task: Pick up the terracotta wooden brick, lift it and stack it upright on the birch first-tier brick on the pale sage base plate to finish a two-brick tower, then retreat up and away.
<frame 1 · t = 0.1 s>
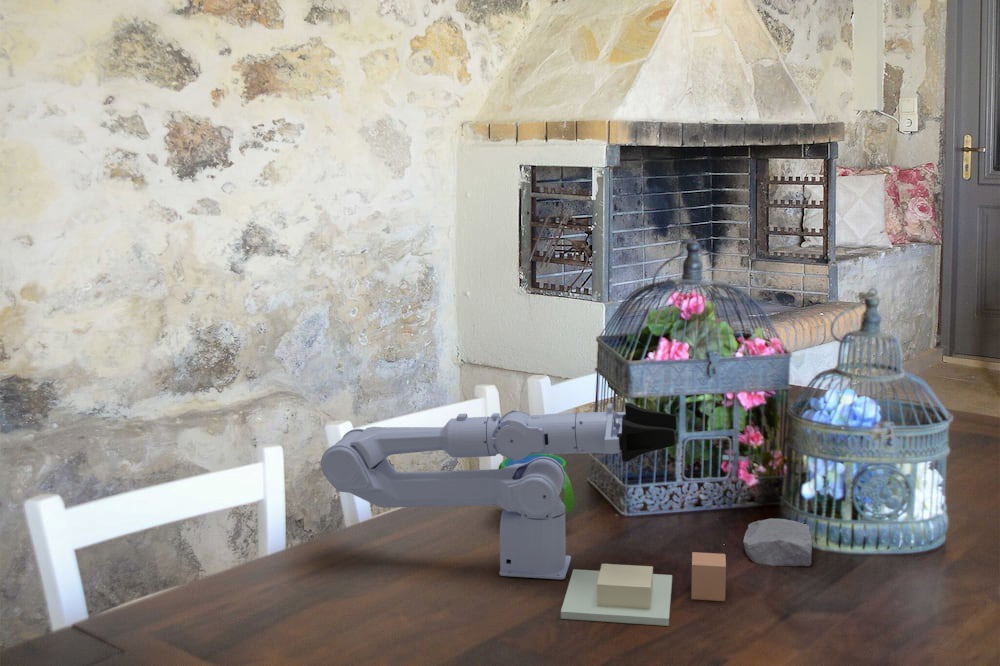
hand: (675, 429, 151), 22 cm above the table, tool horizontal, fingers open, 7 cm apart
base plate: (618, 599, 148), on the table
snack cup: (534, 522, 177), on the table
top brick: (708, 593, 149), on the table
stone block: (776, 553, 164), on the table
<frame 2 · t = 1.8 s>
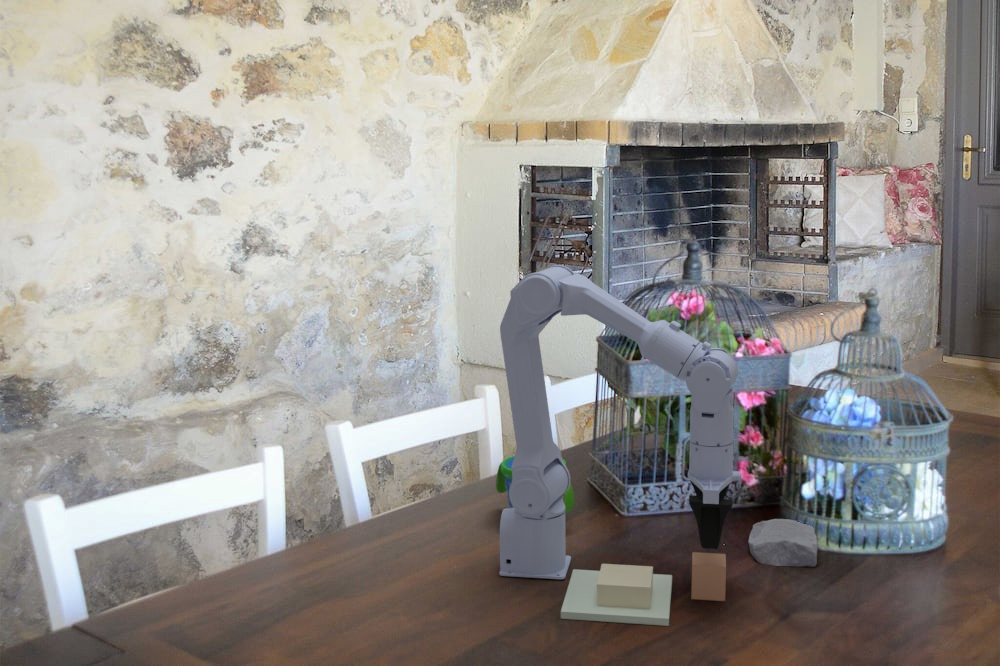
hand: (709, 537, 148), 8 cm above the table, tool pointing down, fingers open, 7 cm apart
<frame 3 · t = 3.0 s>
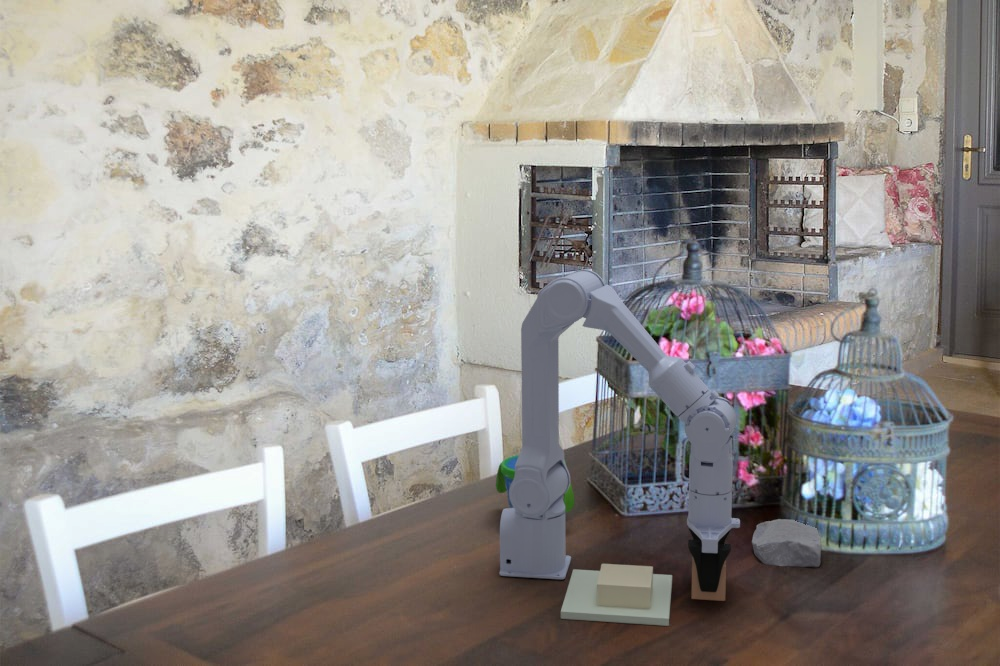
hand: (708, 583, 149), 1 cm above the table, tool pointing down, fingers closed on top brick, 4 cm apart
top brick: (708, 593, 149), on the table, touching gripper
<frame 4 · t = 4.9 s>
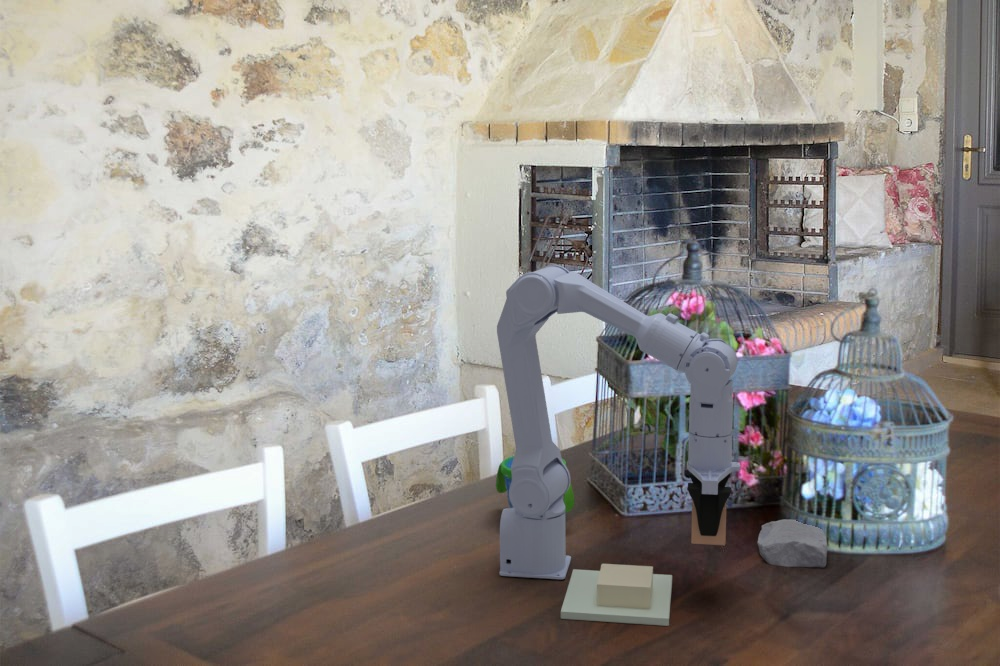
hand: (708, 528, 147), 9 cm above the table, tool pointing down, fingers closed on top brick, 4 cm apart
top brick: (708, 538, 148), point 8 cm above the table, touching gripper
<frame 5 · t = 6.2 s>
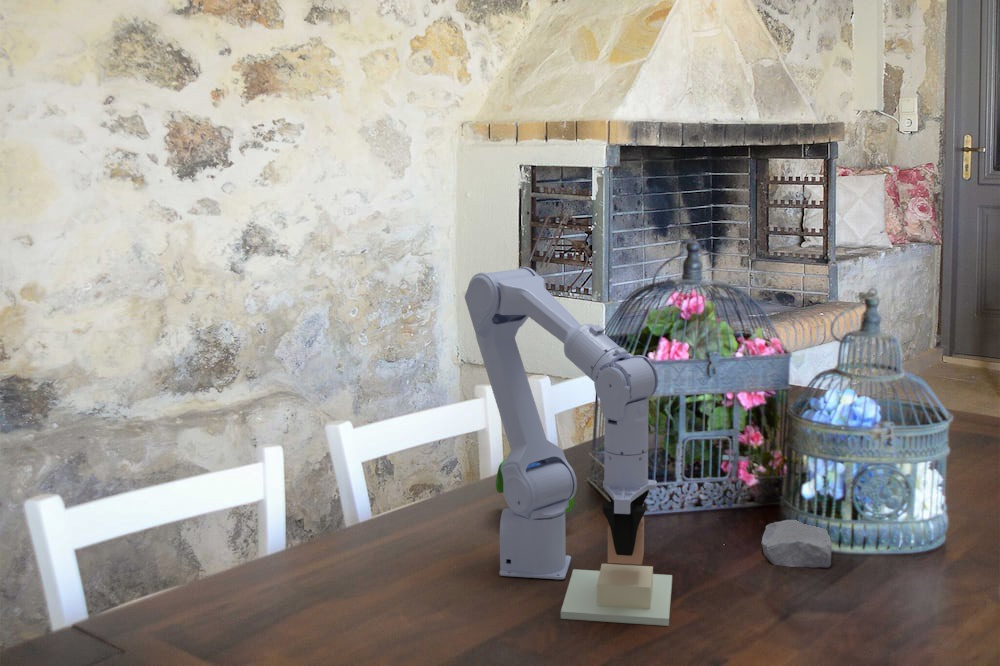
hand: (625, 547, 145), 8 cm above the table, tool pointing down, fingers closed on top brick, 4 cm apart
top brick: (625, 557, 145), point 7 cm above the table, touching gripper
when the fingers open (6 cm above the table, at t = 7.0 s): top brick stays where it is, resting on base plate.
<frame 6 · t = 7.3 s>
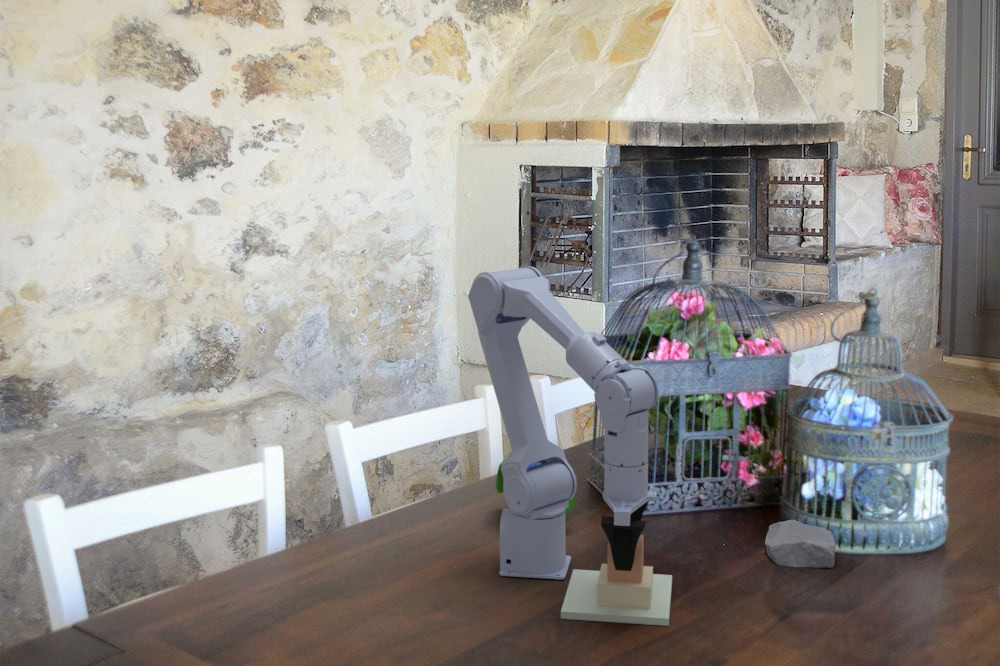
hand: (625, 558, 145), 6 cm above the table, tool pointing down, fingers open, 7 cm apart
top brick: (625, 575, 146), point 4 cm above the table, touching base plate
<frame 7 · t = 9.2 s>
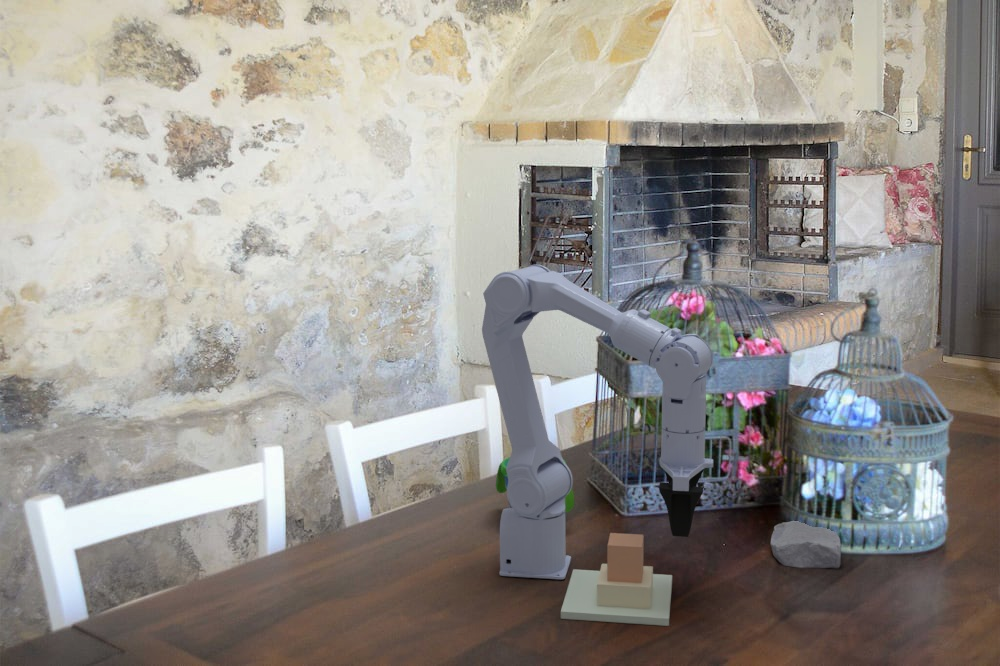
hand: (681, 525, 146), 10 cm above the table, tool pointing down, fingers open, 7 cm apart
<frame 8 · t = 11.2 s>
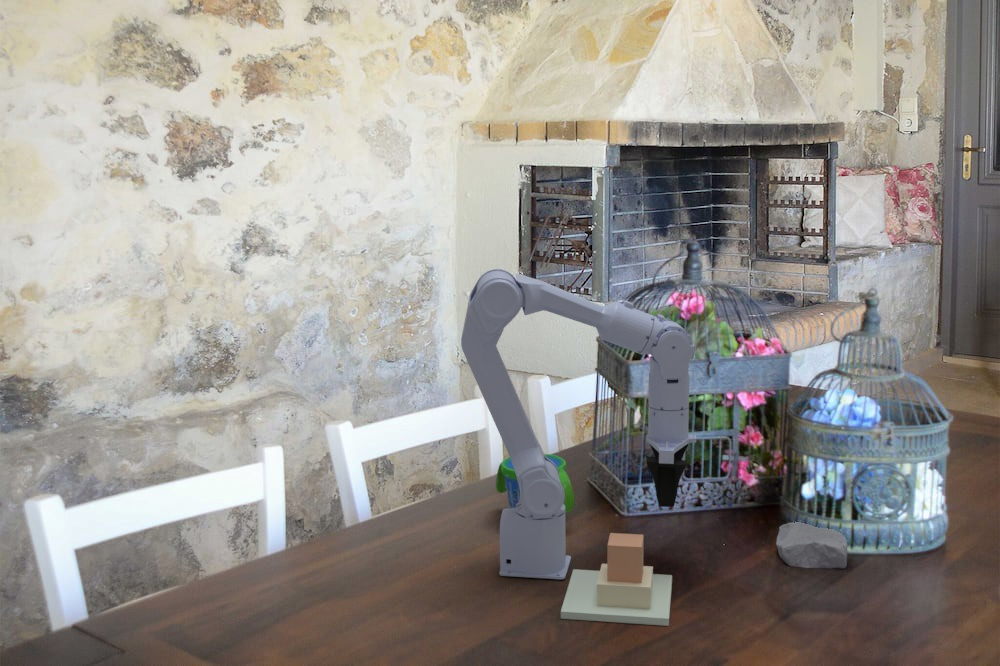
hand: (667, 497, 157), 10 cm above the table, tool pointing down, fingers open, 7 cm apart
at the end: top brick 0.0 cm from the target spot on the base plate, point 4.0 cm above the base plate's base; top brick tilted 0°; the gripper is holding nothing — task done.
